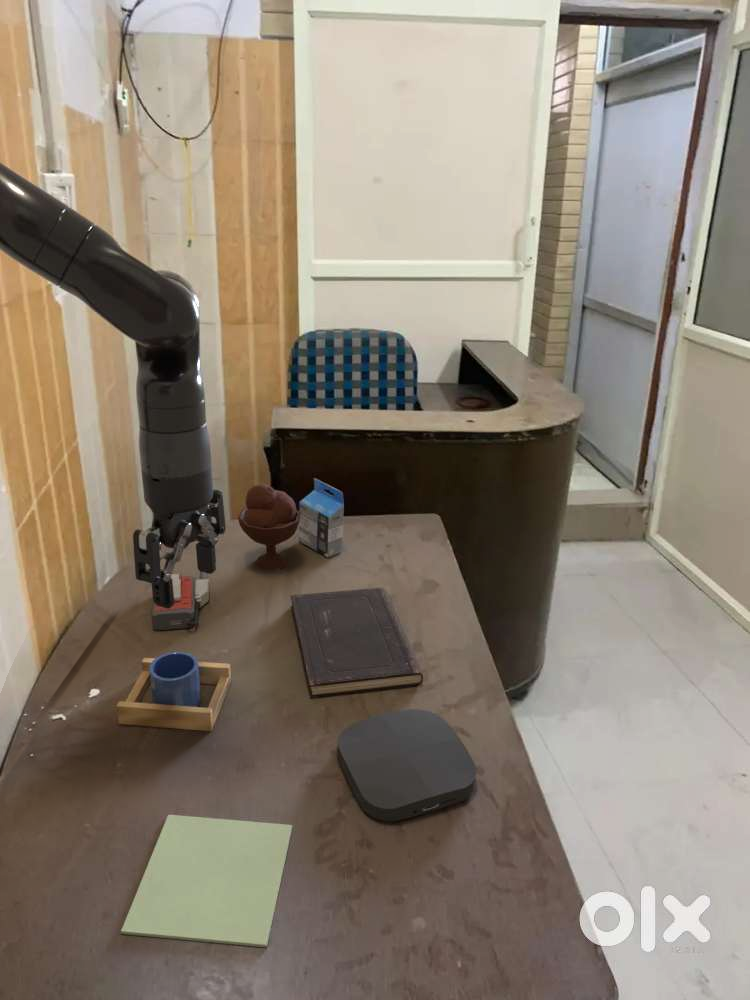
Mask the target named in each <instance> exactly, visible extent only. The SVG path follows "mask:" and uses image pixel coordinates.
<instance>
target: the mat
mask: <svg viewBox="0 0 750 1000" xmlns="http://www.w3.org/2000/svg"><path fill="white" fill-rule="evenodd" d="M292 832H293V825H292V824H282V823H273V822H272V823H271V822H260V821H248V820H238V819H224V818H214V817H200V816H190V815H179V814H178V815H176V814H167V817H166V819H165V821H164V824H163V827H162V829H161V832H160V834H159V835H158V838H157V842H156V844H155V846H154V849H153V851H152V854H151V856H150V859H149V861H148V863H147V866H146V868H145V871H144V873H143V876H142V878H141V880H140V883H139V886H138V888H137V890H136V893H135V895H134V897H133V900H132V903H131V905H130V908H129V910H128V912H127V915H126V917H125V920H124V922H123V925H122V927H121V930H120V934H121V935H130V936H140V937H150V938H161V939H162V938H163V939H173V940H184V941H194V942H205V943H214V944H215V943H217V944H226V945H227V944H228V945H237V946H247V947H258V948H259V947H260V948H267V947H268V943H269V939H270V935H271V930H272V925H273V920H274V916H275V910H276V907H277V902H278V896H279V893H280V887H281V883H282V879H283V873H284V869H285V865H286V859H287V855H288V850H289V845H290V841H291V837H292Z"/></svg>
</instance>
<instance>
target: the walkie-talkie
mask: <svg viewBox="0 0 750 1000" xmlns="http://www.w3.org/2000/svg"><path fill="white" fill-rule="evenodd" d="M171 578H172V582H173V593H174V605H173V606H172V607H171V608H169V609H167V608H164V607H160V606H157V605H156V604H155V603H154V601H152V607H151V624H152V629H154V630H156V631H166V630H167V631H169V630H180V629H181V630H182V629H191V628H194V627H197V625H198V619H199V617H198V615H199V609H200V608H202V607H203V606H204V605H206V604H207V603H208V602H209V601H210V600H209V599H210V597H209V595H210V593H209V592H210V580H209V578H207V573H205V572H201V571H199V578H198V579H196V577H195V576H192V575H182V573H172V575H171Z"/></svg>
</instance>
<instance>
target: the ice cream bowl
mask: <svg viewBox="0 0 750 1000" xmlns="http://www.w3.org/2000/svg"><path fill="white" fill-rule="evenodd" d="M245 506H246V507H244V508H242V509H241V511H240V513H239V515H238V517H237V520H238V523H239V526H240V528H241V530H242V531H243V532H244V534H245V535H246V536H247V537H248V538H249V539H251V540H252V541H254V542H255V543H257V544H258V545H259V544H260V545H264V546H265V547H266V549H265V553H263V554H261V555H259V556H258V557H257V559H256V561H255V565H256V566H257V567H258V568H259V569H262V570H266V571H272V570H280V569H281V568H283V567H285V566H286V564H287V562H288V560H287V558H286V557H285V556H284V555H283V554H282V553H278V552H277V545H279V544H282V543H284V542H285V541H288V540H289V539H291V538H292V537H293V536H294V535H295V533H296V532H297V530H298V528H299V522H300V518H301V512H300V511H299V510H300V509H297V505H296V503H295V501H294V499H293V498H292V497H291V496H290V495H288V494H287V493H286V492H285V491H282V490H277V489H275V488H274V487H272V486H270V485H269V484H265V483H264V484H263V483H259V484H256V485H253V486H252V487H251V488H249V490H248V491H247V493H246V496H245Z"/></svg>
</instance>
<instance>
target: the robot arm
mask: <svg viewBox="0 0 750 1000" xmlns="http://www.w3.org/2000/svg"><path fill="white" fill-rule="evenodd" d="M0 251H1V252H3V253H4V254H6V255H7V256H8V257H10V258H11V259H12V260H14V261H16V262H17V263H19V265H21V266H23V267H25V268H26V269H28V270H30V271H31V272H33V273H34V274H36V275H38V276H39V277H41V278H43V279H44V280H46V281H48V282H49V283H51V284H52V285H54V286H56V287H58V288H59V289H61V290H63V291H64V292H66V293H68V294H70V295H72V296H74V297H75V298H77V299H79V300H80V301H81V302H83V303H84V304H85V305H87V306H88V307H89V308H90V309H91V310H92V311H93V312H95V314H97V315H98V316H100V317H101V318H102V319H103V320H105V321H106V322H107V323H109V324H110V325H111V326H113V327H114V328H115V329H117V331H119V332H120V333H121V334H123V335H124V336H126V337H127V338H129V339H130V340H132V341H134V345H135V351H136V360H137V375H136V382H135V395H136V397H135V398H136V407H137V416H138V428H139V431H138V450H139V452H138V453H139V459H140V460H139V462H140V471H141V481H142V491H143V499H144V503H145V504H146V506H147V507H148V508H149V510H150V511H151V512H152V521H151V522H152V523H151V527H149V528H147V529H145V530H143V529H138V528H137V529H135V530H134V531H133V534H132V541H133V542H132V543H133V555H134V556H133V557H134V559H133V560H134V572H135V573H134V574H135V579H136V580H137V581H140V582H141V581H142V582H146V583H149V584H151V593H152V600H153V601H154V603H155V604H156V605H157V606H160V607H164V608H167V609H169V608H171V607H172V606H173V605H174V593H173V582H172V578H171V575H172V574H173V571H174V568H175V565H176V563H179V562H180V561H181V559H182V556H183V553H184V551H185V549H186V548H187V547H188V546H189V545H190V544H191V543H194V542H197V543H196V544H195V551H196V566H197V570H198V571H199V572H200V571H201V572H205V573H206V574H209V575H212V574H214V572H216V570H217V566H216V565H217V558H216V557H217V556H216V545H217V544H218V540H219V536H220V535H224V534H225V533H226V529H227V528H226V527H227V526H226V515H225V507H224V506H225V505H224V496H223V490H220V489H215V488H214V487H213V484H214V483H213V470H212V455H211V440H210V435H209V431H208V425H207V412H206V397H205V396H206V395H205V388H204V381H203V376H202V371H201V370H202V369H201V327H200V326H201V325H200V323H201V321H200V319H201V317H200V301H199V297H198V295H197V292H196V290H195V288H194V287H193V286H192V284H191V283H190V282H189V280H187V279H186V278H185V277H183V276H181V275H180V274H178V273H177V272H173V271H170V270H163V269H161V270H155V269H153V268H151V267H150V266H148V265H147V264H145V263H144V262H142V261H140V260H139V259H137V257H135V256H133V255H132V254H130V253H129V252H128V251H126V250H124V249H123V248H122V247H121V245H120V244H119V242H118V241H117V239H115V237H114V236H112V234H110V233H109V232H108V231H106V230H105V229H103V228H102V227H101V226H100V225H97V224H95V223H94V221H92V220H91V219H88V218H87V217H86V216H84V215H82V214H81V213H80V212H78V211H77V210H75V209H73V208H72V207H71V206H69V205H67V204H66V203H64V202H63V201H61V200H60V199H58V198H56V197H55V196H54V195H52V194H50V193H48V192H47V191H46V190H44V189H42V188H41V187H39V186H38V185H36V184H34V183H33V182H32V181H30V180H28V179H27V178H25V177H23V176H22V175H20V174H18V173H17V172H16V171H14V170H13V169H11V168H10V167H8V166H7V165H5V164H4V163H2V162H0ZM213 518H214V519H215V522H213V520H212V519H213ZM162 546H164V547H165V548H168V549H172V550H171V551H170V552H167V551H163V550H162ZM162 560H165V563H164V566H163V568H161V561H162ZM146 565H148V566H147V567H146ZM153 601H152V602H153Z"/></svg>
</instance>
